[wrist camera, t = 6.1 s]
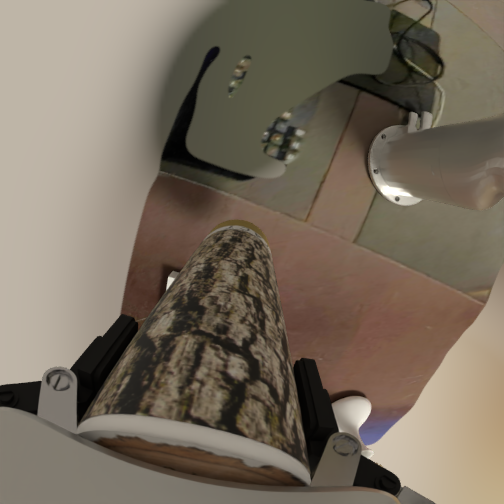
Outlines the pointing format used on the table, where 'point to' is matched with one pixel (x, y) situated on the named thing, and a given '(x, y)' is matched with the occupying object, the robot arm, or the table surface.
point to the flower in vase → (353, 417)
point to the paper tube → (210, 373)
